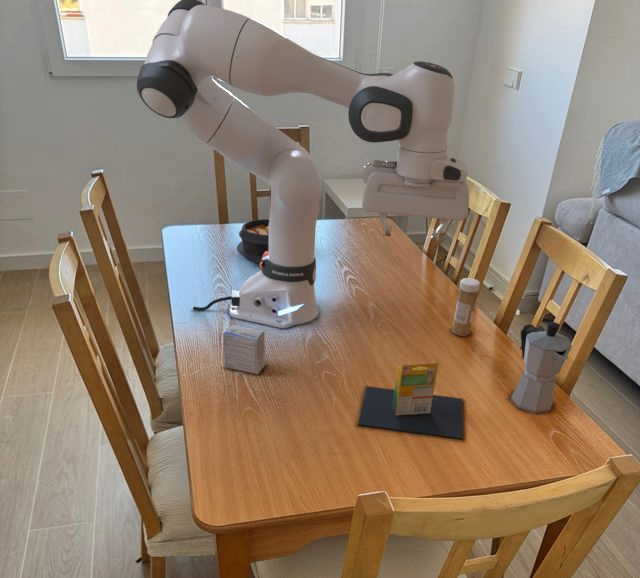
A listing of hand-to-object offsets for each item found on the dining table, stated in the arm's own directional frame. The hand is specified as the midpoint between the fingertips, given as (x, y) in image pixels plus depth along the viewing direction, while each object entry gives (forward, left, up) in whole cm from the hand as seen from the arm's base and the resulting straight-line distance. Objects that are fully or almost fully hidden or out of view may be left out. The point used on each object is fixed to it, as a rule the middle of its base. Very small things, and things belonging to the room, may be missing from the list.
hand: (410, 237), depth 124 cm
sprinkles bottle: (+15, +20, -29) cm, 39 cm away
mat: (+5, -18, -29) cm, 35 cm away
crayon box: (+5, -18, -29) cm, 34 cm away
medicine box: (-32, -9, -29) cm, 44 cm away
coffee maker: (+29, -7, -29) cm, 42 cm away
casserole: (-43, +57, -29) cm, 77 cm away
